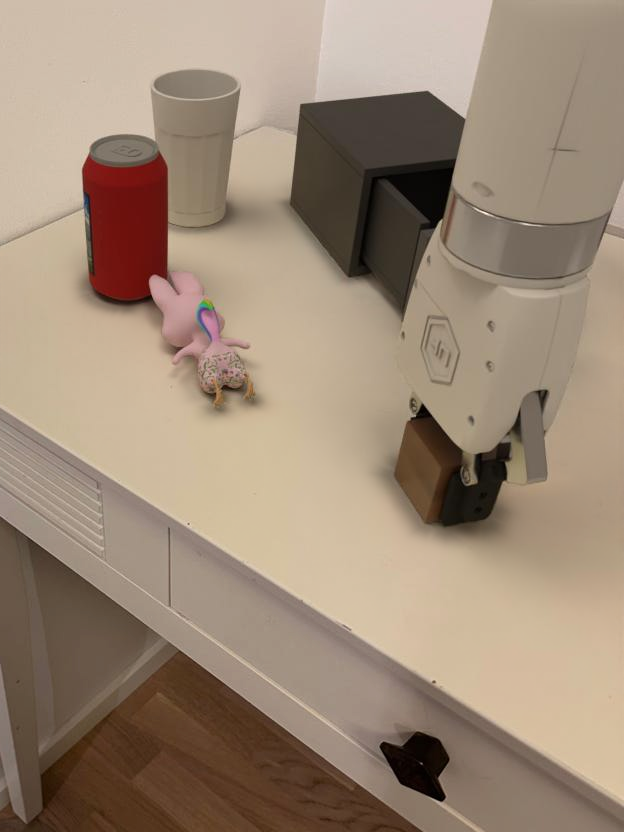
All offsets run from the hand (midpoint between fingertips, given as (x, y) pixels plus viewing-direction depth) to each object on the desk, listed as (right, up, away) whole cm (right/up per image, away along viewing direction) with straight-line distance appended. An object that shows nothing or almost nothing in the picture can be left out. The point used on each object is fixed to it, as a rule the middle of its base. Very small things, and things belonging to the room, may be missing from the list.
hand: (443, 488), depth 56 cm
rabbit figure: (-15, +10, +12) cm, 22 cm away
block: (0, 0, 0) cm, 0 cm away
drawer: (+6, +16, +16) cm, 23 cm away
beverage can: (-20, +17, +20) cm, 33 cm away
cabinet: (+3, +24, +26) cm, 36 cm away
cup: (-14, +26, +30) cm, 42 cm away
